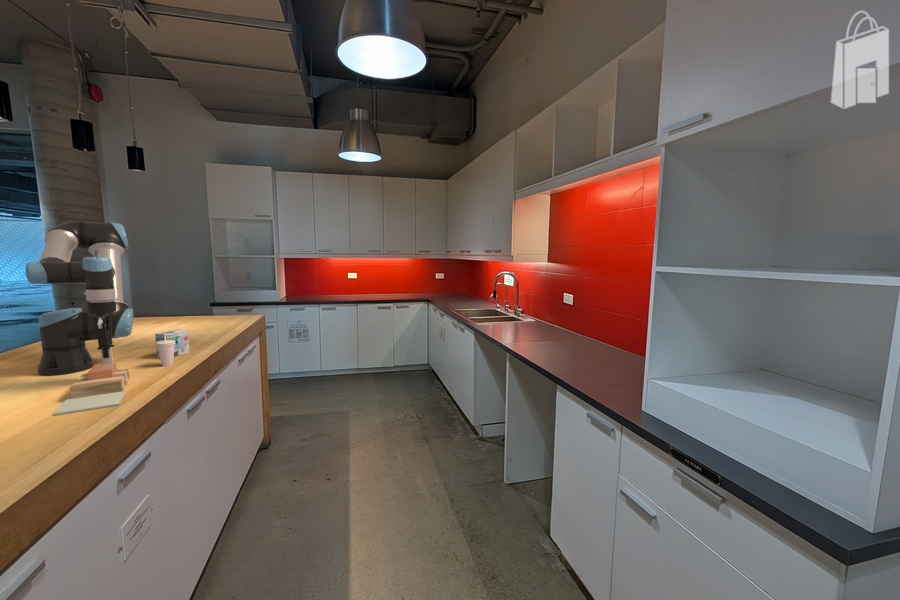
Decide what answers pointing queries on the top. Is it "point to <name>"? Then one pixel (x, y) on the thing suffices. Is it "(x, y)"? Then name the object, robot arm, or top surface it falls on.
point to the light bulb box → (180, 341)
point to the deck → (99, 384)
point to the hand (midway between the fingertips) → (107, 365)
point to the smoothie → (166, 351)
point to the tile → (102, 371)
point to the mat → (90, 403)
